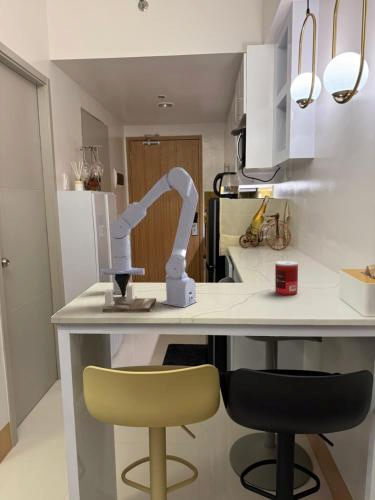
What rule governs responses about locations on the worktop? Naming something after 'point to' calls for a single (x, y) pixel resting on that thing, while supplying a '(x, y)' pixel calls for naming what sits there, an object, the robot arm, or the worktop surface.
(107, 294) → the knob front
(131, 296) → the knob back
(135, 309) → the switch board
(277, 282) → the canned food
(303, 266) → the worktop surface
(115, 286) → the skincare box
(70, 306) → the worktop surface
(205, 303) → the worktop surface
